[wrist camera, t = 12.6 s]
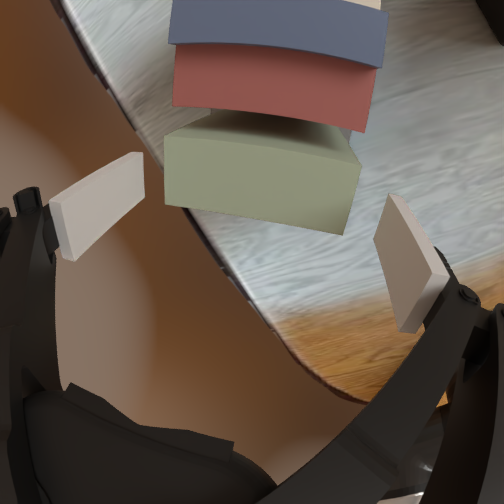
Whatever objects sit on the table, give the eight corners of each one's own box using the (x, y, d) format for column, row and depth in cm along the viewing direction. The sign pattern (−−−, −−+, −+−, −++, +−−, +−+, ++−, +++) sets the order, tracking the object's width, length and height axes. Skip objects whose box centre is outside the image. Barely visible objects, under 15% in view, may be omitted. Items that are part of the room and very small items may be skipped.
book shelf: (333, 195, 29) (349, 288, 17) (211, 174, 30) (147, 249, 18) (370, -15, 15) (419, -79, 4) (231, -33, 17) (169, -99, 5)
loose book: (328, 165, 26) (342, 235, 15) (223, 147, 26) (165, 204, 16) (336, 124, 23) (361, 165, 13) (226, 107, 24) (163, 136, 14)
